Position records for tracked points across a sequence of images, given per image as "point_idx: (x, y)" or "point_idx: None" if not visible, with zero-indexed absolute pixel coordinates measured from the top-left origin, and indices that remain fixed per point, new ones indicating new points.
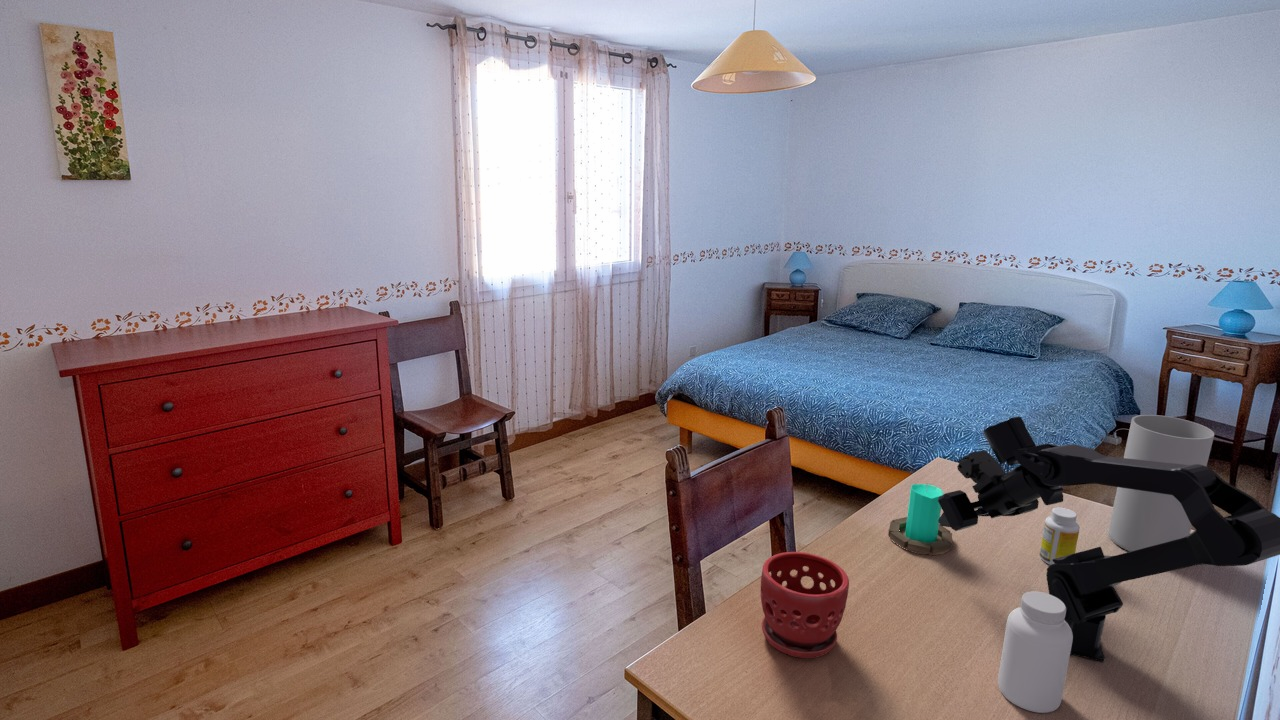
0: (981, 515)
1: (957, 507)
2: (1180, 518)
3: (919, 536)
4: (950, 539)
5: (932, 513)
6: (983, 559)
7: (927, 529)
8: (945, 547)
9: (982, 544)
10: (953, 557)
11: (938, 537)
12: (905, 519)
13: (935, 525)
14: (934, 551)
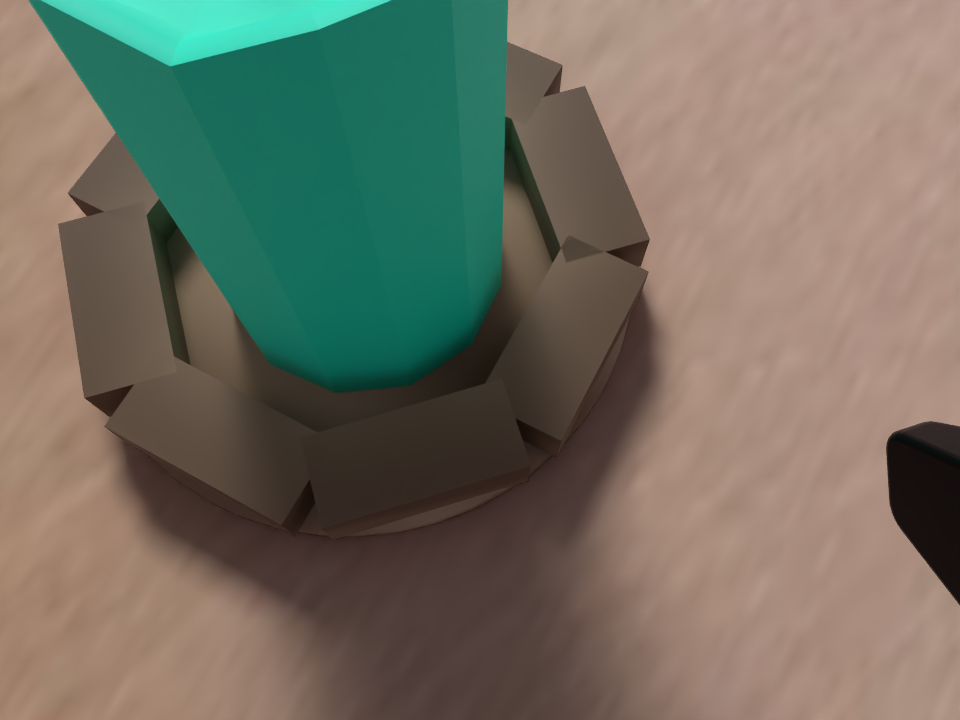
0: (941, 577)
1: None
2: None
3: (262, 338)
4: (575, 380)
5: (298, 221)
6: (800, 645)
7: (301, 326)
8: (473, 487)
9: (901, 386)
10: (517, 588)
11: (527, 275)
12: None
13: (392, 298)
14: (338, 533)
